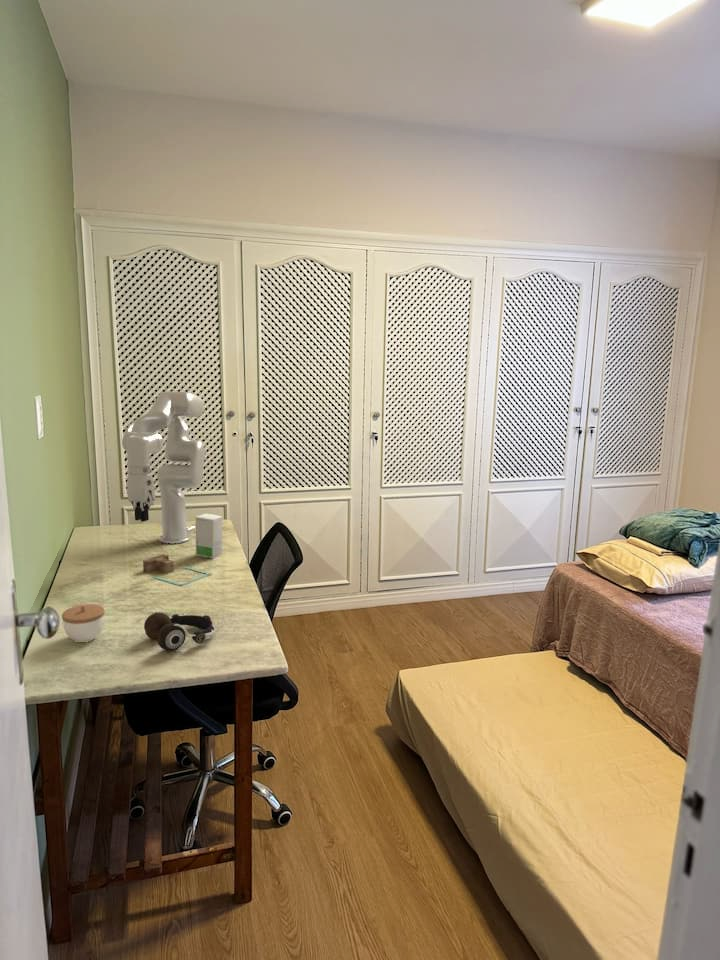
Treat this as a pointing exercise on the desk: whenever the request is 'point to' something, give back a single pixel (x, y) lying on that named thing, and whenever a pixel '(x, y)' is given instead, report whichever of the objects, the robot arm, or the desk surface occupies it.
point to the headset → (177, 629)
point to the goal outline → (186, 582)
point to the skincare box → (208, 535)
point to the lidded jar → (83, 622)
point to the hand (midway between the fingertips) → (141, 519)
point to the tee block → (158, 564)
